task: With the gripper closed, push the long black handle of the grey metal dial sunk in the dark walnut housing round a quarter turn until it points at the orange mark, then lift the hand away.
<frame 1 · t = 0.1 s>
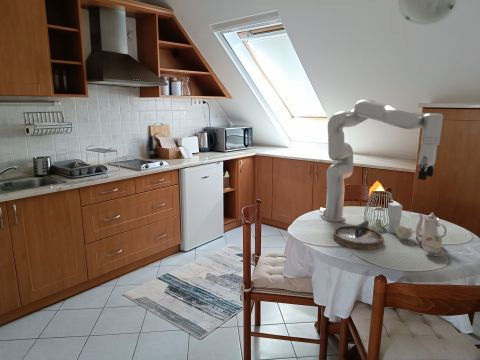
hand: (425, 177, 166), 31 cm above the table, tool pointing down, fingers open, 9 cm apart
dial: (358, 230, 172), point 5 cm above the table, hinge at 0.0°
orange juice: (375, 215, 209), on the table
housing: (357, 239, 173), on the table
chinaware: (422, 246, 167), on the table
skincare box: (389, 230, 187), on the table
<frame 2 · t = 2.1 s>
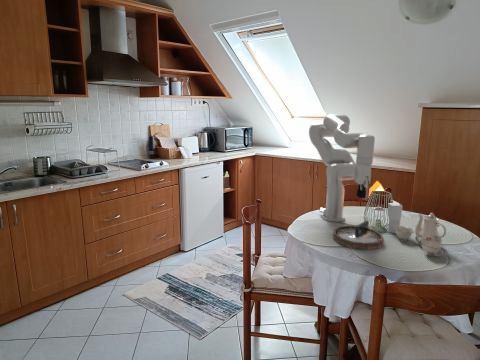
hand: (361, 196, 177), 19 cm above the table, tool pointing down, fingers closed
nothing on the table moved.
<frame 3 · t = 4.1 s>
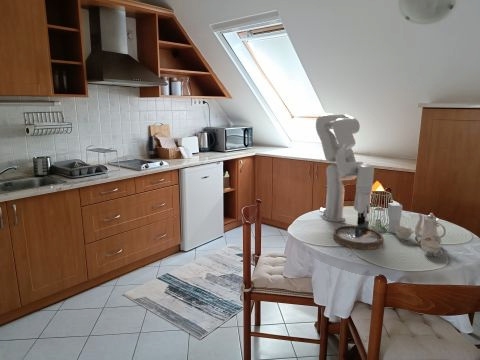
hand: (360, 224, 180), 5 cm above the table, tool pointing down, fingers closed
dial: (358, 230, 172), point 5 cm above the table, hinge at 0.2°, touching gripper
everything else where it was.
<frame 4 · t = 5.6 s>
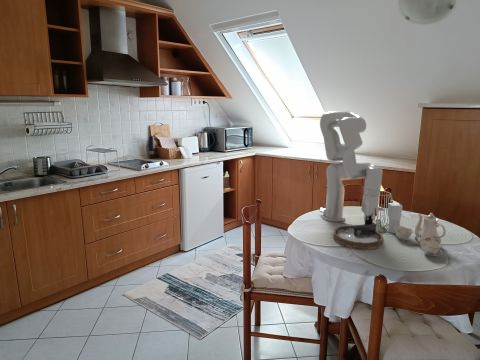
hand: (368, 227, 177), 5 cm above the table, tool pointing down, fingers closed
dial: (358, 230, 172), point 5 cm above the table, hinge at 29.5°, touching gripper
everything else where it was.
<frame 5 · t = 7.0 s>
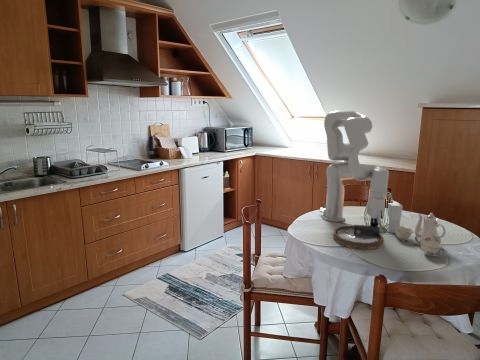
hand: (373, 230, 174), 4 cm above the table, tool pointing down, fingers closed
dial: (358, 230, 172), point 5 cm above the table, hinge at 55.1°, touching gripper
everything else where it was.
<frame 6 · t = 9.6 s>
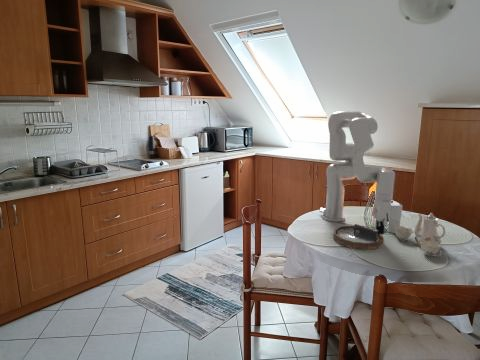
hand: (379, 233, 170), 4 cm above the table, tool pointing down, fingers closed
dial: (358, 230, 172), point 5 cm above the table, hinge at 97.0°
everything else where it was.
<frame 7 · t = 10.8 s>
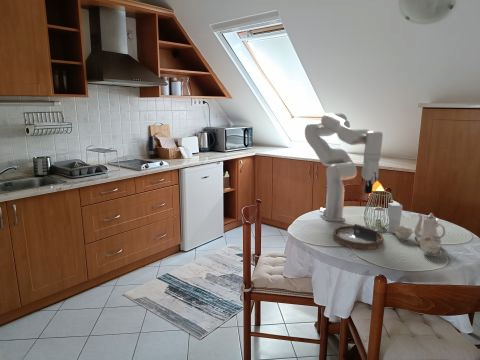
hand: (368, 192, 178), 21 cm above the table, tool pointing down, fingers closed
nothing on the table moved.
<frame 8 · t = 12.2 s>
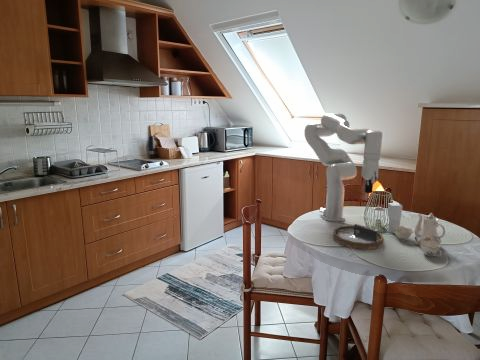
hand: (368, 192, 178), 21 cm above the table, tool pointing down, fingers closed
nothing on the table moved.
at the end: dial at +97° (first picture: +0°) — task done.
